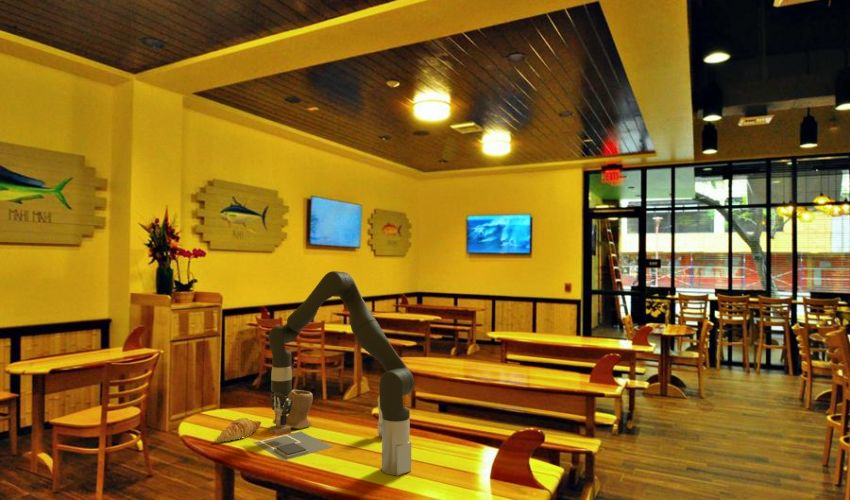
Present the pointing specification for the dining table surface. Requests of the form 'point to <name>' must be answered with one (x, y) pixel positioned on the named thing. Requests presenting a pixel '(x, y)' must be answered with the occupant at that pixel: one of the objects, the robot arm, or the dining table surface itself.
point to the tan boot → (299, 409)
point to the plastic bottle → (379, 419)
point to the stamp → (279, 426)
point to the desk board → (292, 445)
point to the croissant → (238, 429)
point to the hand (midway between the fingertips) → (280, 423)
